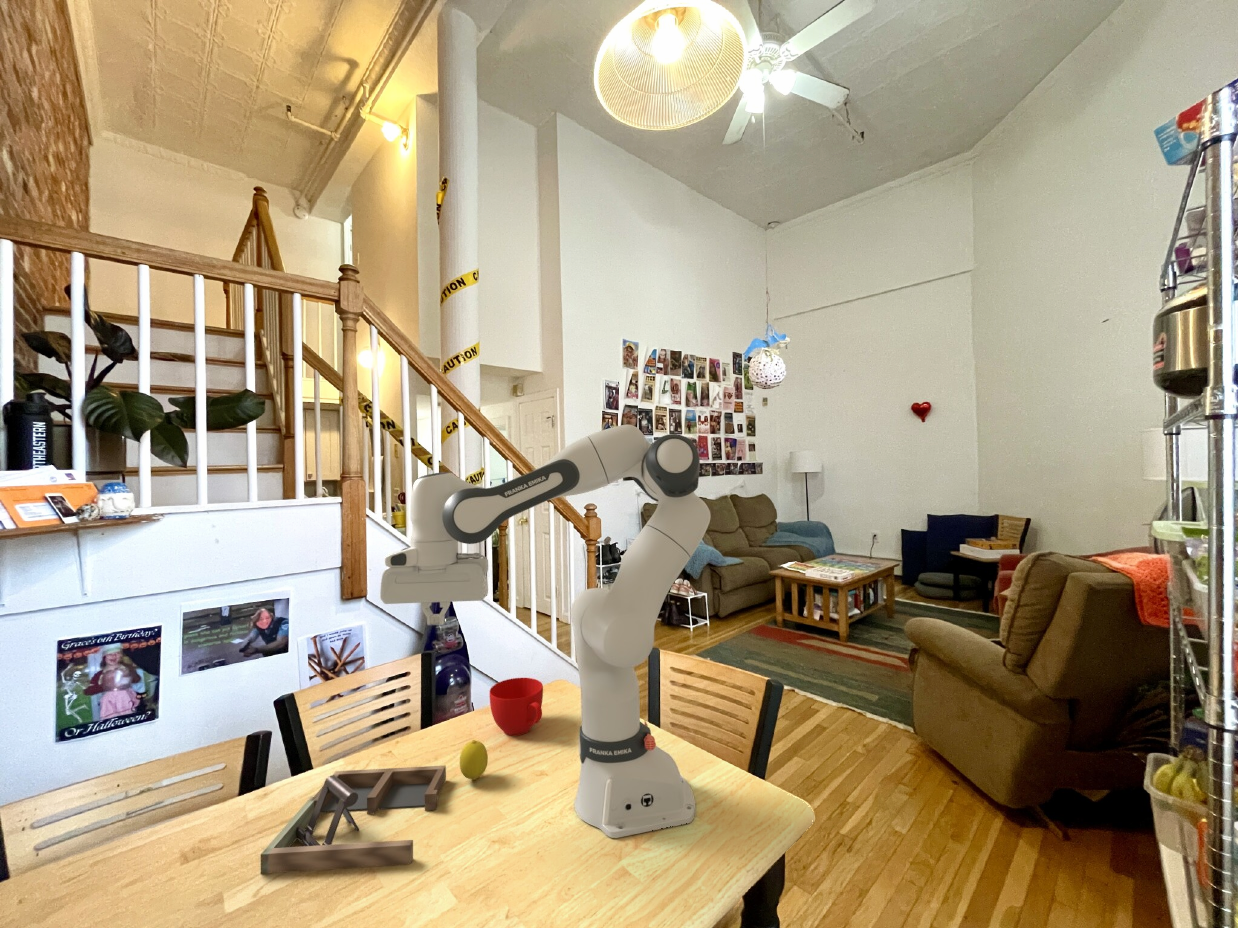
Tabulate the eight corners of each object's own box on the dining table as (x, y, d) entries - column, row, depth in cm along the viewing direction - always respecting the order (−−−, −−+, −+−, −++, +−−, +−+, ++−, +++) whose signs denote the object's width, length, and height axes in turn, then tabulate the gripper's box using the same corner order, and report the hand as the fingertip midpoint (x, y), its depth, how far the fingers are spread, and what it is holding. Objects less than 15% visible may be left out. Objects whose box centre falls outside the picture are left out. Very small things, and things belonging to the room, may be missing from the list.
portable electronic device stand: (295, 839, 87) (294, 790, 88) (342, 815, 94) (342, 769, 94) (316, 863, 82) (315, 810, 82) (365, 835, 88) (364, 786, 88)
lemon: (480, 789, 100) (479, 748, 100) (454, 786, 101) (454, 746, 102) (492, 773, 106) (492, 734, 106) (468, 770, 107) (467, 732, 107)
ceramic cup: (516, 755, 112) (515, 710, 113) (480, 728, 125) (479, 687, 125) (563, 734, 121) (562, 692, 121) (525, 711, 134) (525, 673, 134)
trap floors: (438, 783, 102) (438, 782, 102) (426, 806, 95) (426, 804, 95) (339, 789, 101) (339, 787, 101) (320, 812, 94) (320, 810, 94)
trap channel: (449, 779, 104) (449, 765, 104) (410, 863, 81) (410, 844, 81) (333, 786, 102) (333, 771, 102) (260, 873, 80) (260, 854, 80)
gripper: (491, 550, 104) (492, 617, 104) (389, 553, 103) (390, 621, 103) (484, 554, 98) (485, 626, 97) (376, 558, 97) (377, 630, 96)
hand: (435, 624), depth 100 cm, fingers closed
